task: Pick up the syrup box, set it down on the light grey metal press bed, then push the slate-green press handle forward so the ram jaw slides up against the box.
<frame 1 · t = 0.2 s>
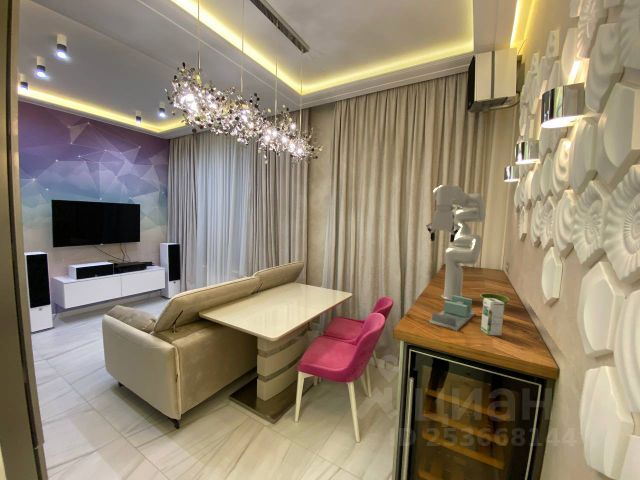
hand: (442, 241, 140), 37 cm above the countertop, tool pointing down, fingers open, 9 cm apart
syrup box: (490, 332, 115), on the countertop
plant pot: (492, 319, 130), on the countertop
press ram: (458, 305, 135), point 5 cm above the countertop, slide at 0.0 cm
press bed: (449, 321, 127), on the countertop
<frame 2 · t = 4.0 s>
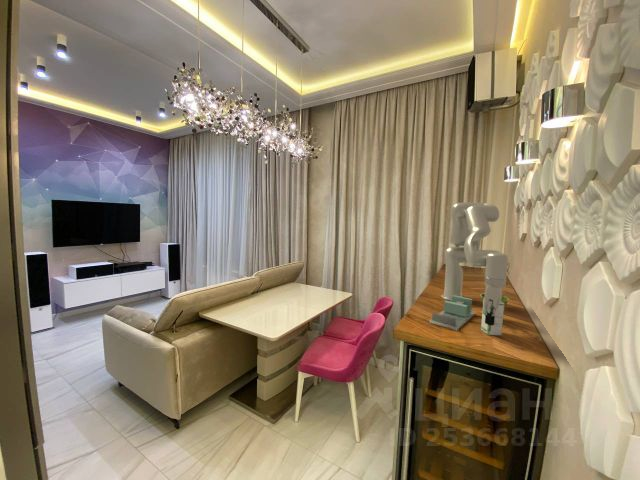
hand: (491, 321, 114), 5 cm above the countertop, tool pointing down, fingers closed on syrup box, 8 cm apart
syrup box: (490, 332, 115), on the countertop, touching gripper
everything else where it was.
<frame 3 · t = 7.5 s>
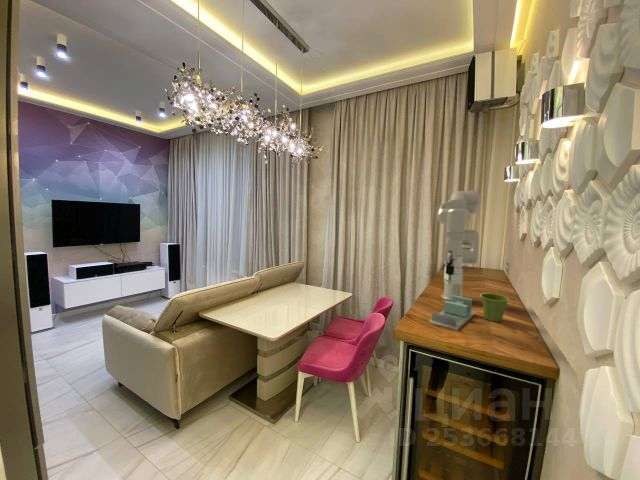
hand: (452, 272, 124), 24 cm above the countertop, tool pointing down, fingers closed on syrup box, 8 cm apart
syrup box: (452, 283, 125), point 18 cm above the countertop, touching gripper
everything else where it was.
when the fingers open (8 cm above the countertop, at t = 11.1 s): syrup box drops 1 cm, resting on press bed.
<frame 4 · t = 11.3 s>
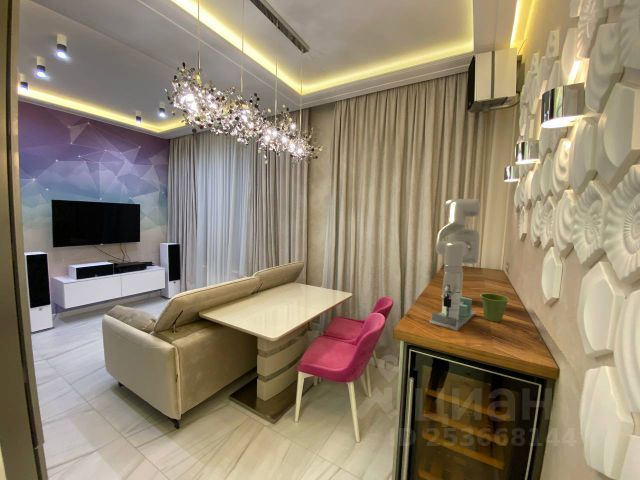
hand: (450, 304, 126), 8 cm above the countertop, tool pointing down, fingers open, 9 cm apart
syrup box: (449, 318, 127), point 1 cm above the countertop, touching press bed
everything else where it was.
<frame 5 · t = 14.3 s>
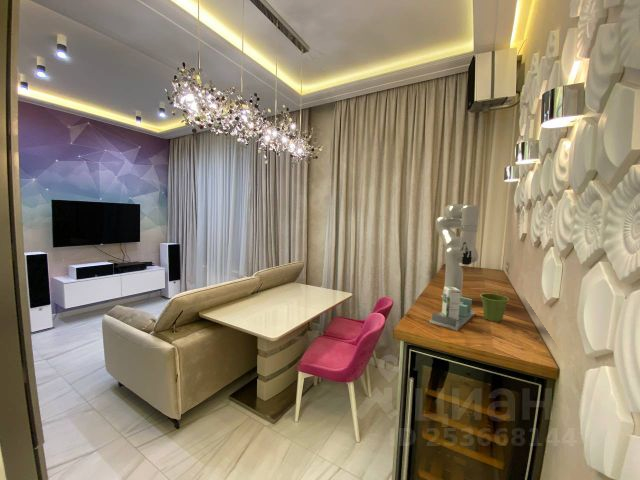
hand: (466, 263, 139), 25 cm above the countertop, tool pointing down, fingers closed
nothing on the countertop moved.
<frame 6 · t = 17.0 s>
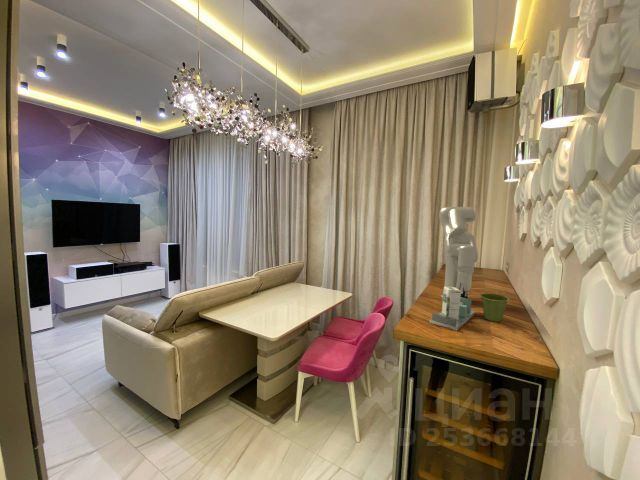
hand: (463, 303, 140), 4 cm above the countertop, tool pointing down, fingers closed
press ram: (458, 305, 134), point 5 cm above the countertop, slide at 0.8 cm, touching gripper
everything else where it was.
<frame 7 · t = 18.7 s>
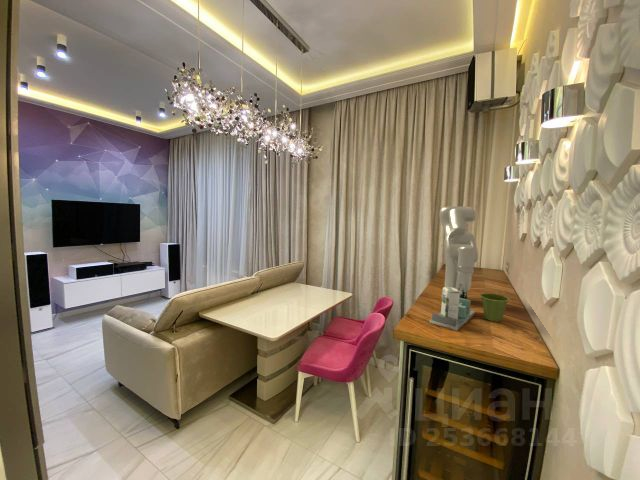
hand: (462, 303, 141), 4 cm above the countertop, tool pointing down, fingers closed
syrup box: (449, 318, 126), point 1 cm above the countertop, touching press bed
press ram: (457, 306, 133), point 5 cm above the countertop, slide at 2.2 cm
everything else where it was.
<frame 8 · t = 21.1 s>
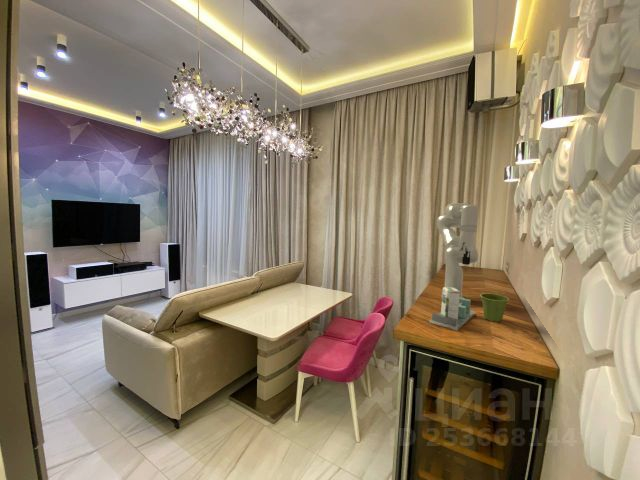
hand: (465, 264, 138), 25 cm above the countertop, tool pointing down, fingers closed
nothing on the countertop moved.
at the end: syrup box 0.9 cm off-centre on the press bed, point 1.3 cm above the press bed's base; syrup box tilted 0°; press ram slide at 2.2 cm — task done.
